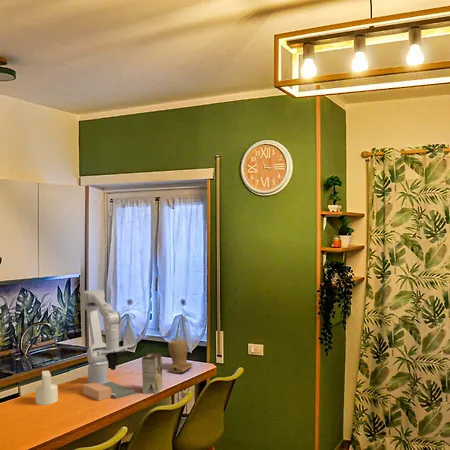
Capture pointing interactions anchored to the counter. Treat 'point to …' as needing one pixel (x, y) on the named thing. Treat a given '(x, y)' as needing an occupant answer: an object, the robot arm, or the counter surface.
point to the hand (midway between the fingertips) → (112, 369)
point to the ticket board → (118, 390)
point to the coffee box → (152, 373)
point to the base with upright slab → (46, 390)
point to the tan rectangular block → (96, 391)
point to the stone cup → (178, 356)
